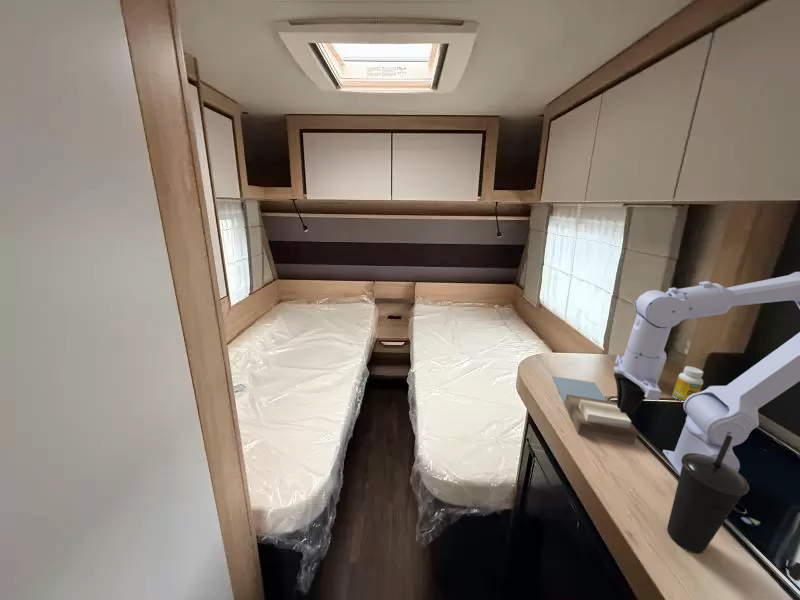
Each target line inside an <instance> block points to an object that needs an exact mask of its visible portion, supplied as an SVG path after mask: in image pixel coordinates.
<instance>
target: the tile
mask: <svg viewBox="0 0 800 600" xmlns="http://www.w3.org/2000/svg"><path fill="white" fill-rule="evenodd" d="M579 408H580V410H581V412H582V414H583V416H584V418H585V420H586V422H592V423H598V424H604V425H610V426H615V427H621V428H627V429H629V427H630V424H632V420H631V419H630V418H629V416H628V415H627V413H622V412H621V411H620V408H618V407H617V405H611V404H605V403H599V402H593V401H586V400H580V403H579Z"/></svg>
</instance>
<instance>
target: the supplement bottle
mask: <svg viewBox="0 0 800 600" xmlns="http://www.w3.org/2000/svg"><path fill="white" fill-rule="evenodd" d="M703 375H704V370H701V369H699V368H698V367H695V366H689V365H686V366H684V369H683V372H681V373H679V374H678V375H677V376H678V377H677V378H676V382H675V386H674V388H673V391H672V394H671V397H672V398H673V397H674V398H676V399H679V400H681V401H685V400H686V398H687V397H689V396H690V395H692V394H694V393H698V392H701V391H702V387H703V385H704V380H703V378H702V377H703ZM674 398H673V399H674ZM676 399H675V400H676Z"/></svg>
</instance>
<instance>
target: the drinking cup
mask: <svg viewBox="0 0 800 600" xmlns="http://www.w3.org/2000/svg"><path fill="white" fill-rule="evenodd" d="M732 438H733V437H731V436H729V435H726V438H725V440H724V442H723V445H722V447H721V449H720V451H719V454H718V456H717V458H716V459H714V458H711V457H709V456H705V455H702V454H696V453H688V454H685V455H684V456H683V457H682V469H681V473H680V474H679V479H678V483H677V486H676V490H675V493H674V494H675V495H674V498H673V502H672V506H671V511H670V515H669V518H668V523H667V527H666V530H667V534H668V535H670V536H669V537H670V538H671V539H672V540H673V541H674V543H676V544H677V545H678V546H679V547H681V548H682V549H684V550H686V549H687V550H686V551H688V552H690V553H694V554H702V553H703V551H705V550H706V549H707V548H708V545H709V544H710V543H711V542H712V540H713V539H714V538H715V536H716V534H717V533H718V531H719V530H720V528H721V527H722V526H723V524H724V523H725V521H726V520H727V519H728V517H729V515H730V514H731V512H732V511H733V509H734V508H735V506H737V503H738V502H739V501H740V499H741V498H742V497H743V496H745V495H746V494H748V493H749V491H750V486H749V482H748V481H747V479H745V477H744V476H743V475H742V474H741V473H740V472H739V471H738V472H737V471H736V470H734V469H733V468H731V467H730V466H728V465H726V464H724V463H723V462H722V461H723V459H724V457H725V454H726V452H727V450H728V447H729V445H730V443H731V441H732Z"/></svg>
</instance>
